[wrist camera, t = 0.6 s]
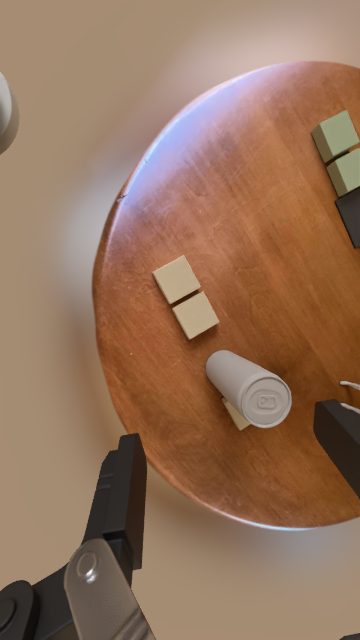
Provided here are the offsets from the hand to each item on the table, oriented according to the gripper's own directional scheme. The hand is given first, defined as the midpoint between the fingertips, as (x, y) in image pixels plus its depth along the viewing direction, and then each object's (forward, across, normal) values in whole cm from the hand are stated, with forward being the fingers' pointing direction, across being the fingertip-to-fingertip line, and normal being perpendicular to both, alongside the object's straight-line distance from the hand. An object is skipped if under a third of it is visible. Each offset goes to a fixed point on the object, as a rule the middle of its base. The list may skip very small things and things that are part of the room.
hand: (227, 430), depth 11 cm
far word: (+27, -26, -7) cm, 39 cm away
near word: (+20, -2, +6) cm, 21 cm away
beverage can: (+19, -3, +10) cm, 22 cm away
